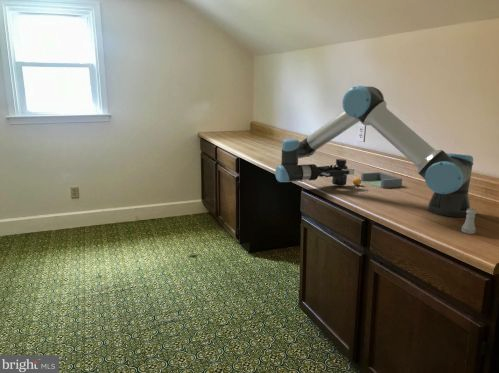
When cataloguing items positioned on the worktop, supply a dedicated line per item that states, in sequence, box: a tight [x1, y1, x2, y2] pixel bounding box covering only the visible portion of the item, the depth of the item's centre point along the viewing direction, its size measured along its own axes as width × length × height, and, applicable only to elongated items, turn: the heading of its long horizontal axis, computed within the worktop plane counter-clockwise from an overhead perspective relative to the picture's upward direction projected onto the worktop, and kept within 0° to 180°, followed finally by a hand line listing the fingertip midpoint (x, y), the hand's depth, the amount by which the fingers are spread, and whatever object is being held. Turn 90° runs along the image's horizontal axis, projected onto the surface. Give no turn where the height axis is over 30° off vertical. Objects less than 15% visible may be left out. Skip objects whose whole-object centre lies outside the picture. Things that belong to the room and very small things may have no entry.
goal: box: [360, 171, 403, 189], centre depth 208 cm, size 12×17×4 cm
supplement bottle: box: [331, 158, 349, 186], centre depth 198 cm, size 7×7×12 cm
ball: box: [352, 177, 362, 186], centre depth 202 cm, size 4×4×4 cm
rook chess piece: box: [460, 208, 478, 235], centre depth 138 cm, size 4×4×8 cm
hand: (348, 170), depth 200 cm, fingers closed on supplement bottle, 7 cm apart
